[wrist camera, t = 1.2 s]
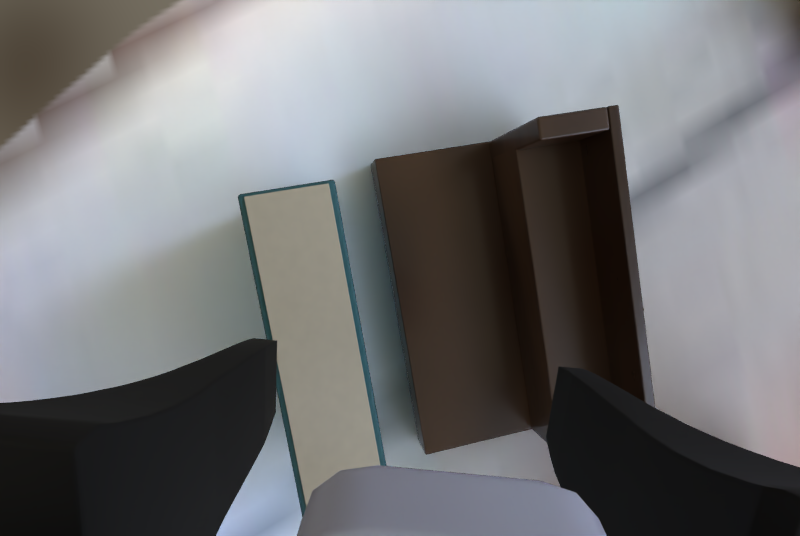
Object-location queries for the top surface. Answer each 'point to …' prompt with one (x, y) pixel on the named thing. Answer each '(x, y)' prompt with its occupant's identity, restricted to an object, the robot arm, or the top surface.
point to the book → (313, 331)
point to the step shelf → (513, 274)
